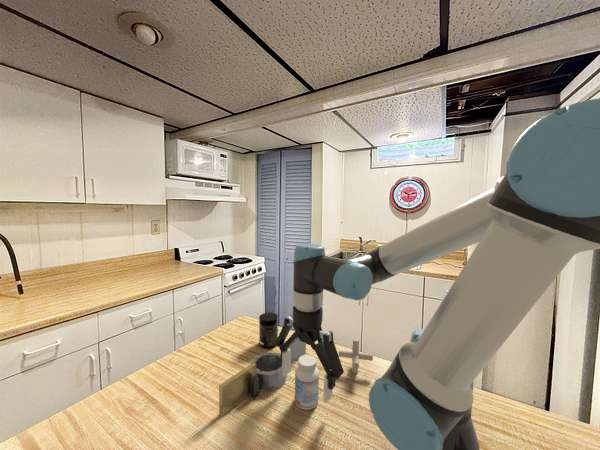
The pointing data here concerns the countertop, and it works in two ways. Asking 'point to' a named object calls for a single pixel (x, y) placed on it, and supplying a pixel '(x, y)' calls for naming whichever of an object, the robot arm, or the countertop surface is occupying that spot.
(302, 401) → the pill bottle
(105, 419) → the countertop surface
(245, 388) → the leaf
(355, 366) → the pipe connector
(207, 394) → the countertop surface
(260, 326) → the supplement container
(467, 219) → the robot arm
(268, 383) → the hinge base
